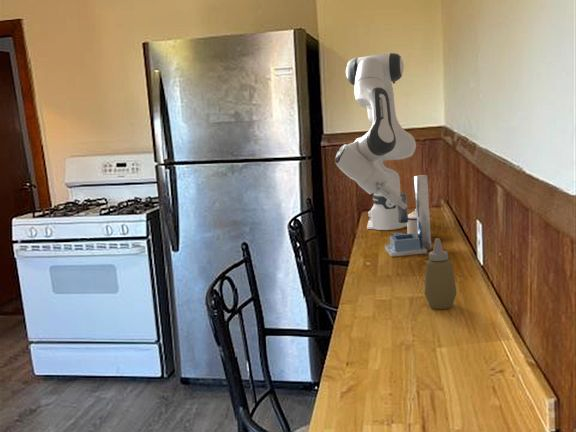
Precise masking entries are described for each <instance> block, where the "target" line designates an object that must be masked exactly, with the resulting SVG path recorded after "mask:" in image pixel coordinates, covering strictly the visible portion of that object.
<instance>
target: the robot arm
mask: <svg viewBox="0 0 576 432" xmlns="http://www.w3.org/2000/svg"><path fill="white" fill-rule="evenodd" d="M404 67H405V65H404V62H403V59H402V56H401V55H399V54H398V53H396V52H394V53H393V52H390V53H375V54H372V55H367V56H362V57H354V58H352V59H350V60H349V61H348V62H347V64H346V69H345V75H346V78H347V80H348V82H349V84H351V85H352V86H354V97H355V98H354V99H355V102H356V103H357V104H358V105H360V107H362V108H366V112H367V119H368V121H369V123H370V124H371V127H370V129H369V130H368V131H367V132H366V133H364V135H362V136H360V137H357V138H355V140H354V142H350V143H348V144H343V145H341V147H340V148H339V150H338V151H337V152H336V155H335V157H334V163H335V165H336V167H338V169H339V170H340V172H342V173H343V174H345V176H347V177H348V178H349V179H351V180H353V181H355V182H356V184H357V185H358V186H359V187H360V188H361V189H362V190H364V192H366V193H367V194H368V195H372V203H373V205H372V207H371V209H370V210H369V211H368V212H367V214H368V217H369V219H368V222H367V225H366V228H367V230H378V231H391V230H393V231H394V230H398V229H399V230H400V229H403V228H407V222H406V223H399V222H398V210H397V205H399V206H400V207H401V208H403V209H405V208H406V207H407V208H408V204H407V205H406V204H405V203H404V202H403V201H402V197H401V196H400V195H399V194H398V193H402V191H401V180H400V175H399V173H398V172H397V171H396V170H394V169H392V168H389V167H387V166H386V165H385V164H384V162H385V161H396V160H397V161H398V160H399V161H400V160H404V159H407V158H410V157H412V156H413V155H414V153H415V151H416V148H417V142H416V140H415V137H414V136H413V135H412V134H411V133H410V132H408V131H406V130H405V129H404V128H403V126H402V125H401V124H400V123H399V121H398V117H397V114H396V106H395V95H394V88H393V84H396V82H398V81H399V80H400V79H401V78H402V77H403V73H404V70H405V69H404Z"/></svg>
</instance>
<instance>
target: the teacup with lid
mask: <svg viewBox="0 0 576 432" xmlns="http://www.w3.org/2000/svg"><path fill="white" fill-rule="evenodd" d="M429 217H430V218H431V215H430V213H429ZM406 228H407V229H406V231H407V233H406V234H410V233H414V234H415V235H417V236H418V231H417V215H416V208H415V209H414V210H413V211H411V212H410V213H408V222H407V226H406ZM431 233H432V230H431V228H430V234H431Z"/></svg>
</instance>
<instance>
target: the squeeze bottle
mask: <svg viewBox="0 0 576 432" xmlns="http://www.w3.org/2000/svg"><path fill="white" fill-rule="evenodd" d="M428 258H429V259H428V260H427V261H426V262H425V271H424V273H425V274H424V275H425V276H424V297H425V298H426V301H427V303H428V305H429V307H430V308H431V309H435V310H448V309H451V308H452V307H453V306H454V302H455V300H456V297H457V287H456V281H455V280H456V279H455V274H454V273H455V272H454V268H453V262H452V261H451V260H450V259H449V253H448V251H446V250H444V249H443V246H442V241H441V239H440V238H439V237H437V238H434V243H433V250H431V251H430V252H428Z"/></svg>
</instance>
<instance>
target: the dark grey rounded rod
mask: <svg viewBox="0 0 576 432" xmlns="http://www.w3.org/2000/svg"><path fill="white" fill-rule="evenodd" d="M398 194H399V195H400V196H401V197H402V201H403V202H404V203H405V204H406V205H407V207H406V208H405V209H403V208H401V207H400V206H399V205H397V210H398V222H399V223H406V222H408V214H409V213H408V211H409V210H408V199H407V198H408V197H407V196H408V195H407V193H406V192H401V193H398Z"/></svg>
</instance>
